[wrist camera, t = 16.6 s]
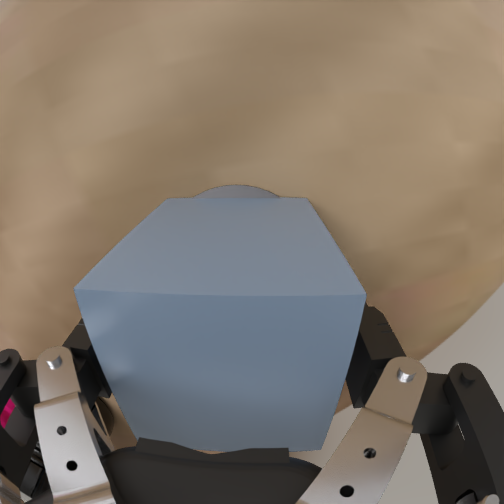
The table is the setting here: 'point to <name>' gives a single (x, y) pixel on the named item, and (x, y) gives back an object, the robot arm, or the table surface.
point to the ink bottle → (36, 472)
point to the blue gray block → (225, 323)
